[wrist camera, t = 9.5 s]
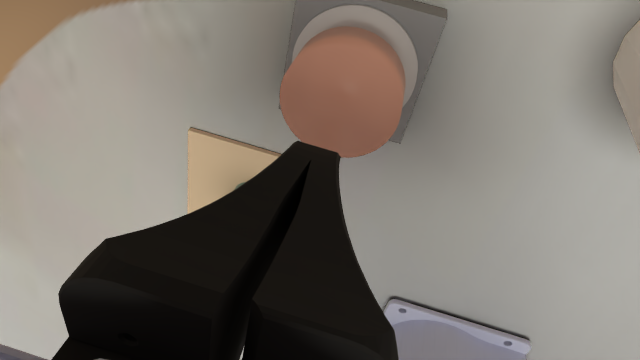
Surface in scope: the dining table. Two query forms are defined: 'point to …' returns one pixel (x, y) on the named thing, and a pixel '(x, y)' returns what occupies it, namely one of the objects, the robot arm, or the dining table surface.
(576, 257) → the dining table surface
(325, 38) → the button
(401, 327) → the robot arm
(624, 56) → the white cylinder
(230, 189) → the sketch pad
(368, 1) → the button base
